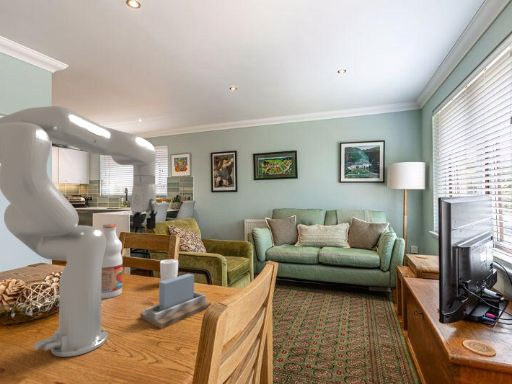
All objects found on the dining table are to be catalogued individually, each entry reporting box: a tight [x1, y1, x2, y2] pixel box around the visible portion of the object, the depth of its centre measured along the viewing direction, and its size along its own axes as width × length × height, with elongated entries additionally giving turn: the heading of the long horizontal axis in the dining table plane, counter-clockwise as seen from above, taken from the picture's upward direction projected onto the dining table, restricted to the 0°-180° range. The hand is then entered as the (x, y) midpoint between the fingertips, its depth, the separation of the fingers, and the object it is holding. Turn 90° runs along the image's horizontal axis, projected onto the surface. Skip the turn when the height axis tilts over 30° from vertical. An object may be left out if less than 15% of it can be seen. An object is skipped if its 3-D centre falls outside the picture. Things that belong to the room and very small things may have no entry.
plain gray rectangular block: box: [158, 273, 195, 312], centre depth 92 cm, size 12×3×10 cm, turn 143°
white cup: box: [159, 258, 179, 282], centre depth 122 cm, size 8×8×10 cm
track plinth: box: [139, 291, 212, 330], centre depth 92 cm, size 20×12×4 cm, turn 142°
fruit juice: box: [101, 223, 123, 299], centre depth 108 cm, size 9×9×28 cm
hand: (143, 227), depth 98 cm, fingers open, 9 cm apart
